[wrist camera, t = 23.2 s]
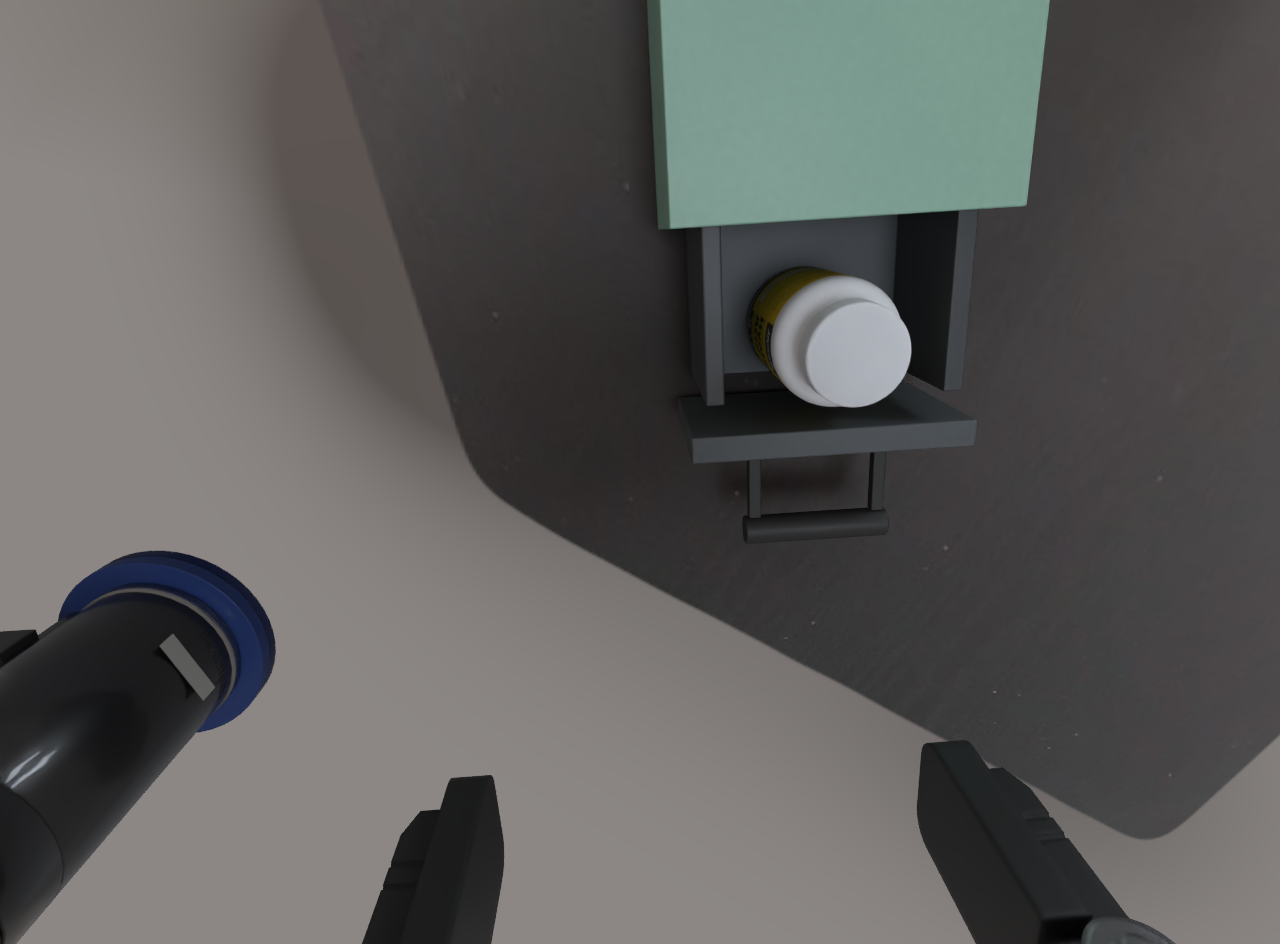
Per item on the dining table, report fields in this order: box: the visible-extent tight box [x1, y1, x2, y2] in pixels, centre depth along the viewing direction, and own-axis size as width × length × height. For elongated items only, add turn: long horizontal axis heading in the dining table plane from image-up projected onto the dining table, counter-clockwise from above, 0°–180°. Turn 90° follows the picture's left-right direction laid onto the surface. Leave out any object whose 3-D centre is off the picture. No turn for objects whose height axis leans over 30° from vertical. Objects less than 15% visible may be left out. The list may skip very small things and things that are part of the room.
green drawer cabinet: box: [647, 0, 1050, 229], centre depth 28 cm, size 16×14×10 cm
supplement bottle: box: [747, 267, 911, 407], centre depth 31 cm, size 5×5×10 cm
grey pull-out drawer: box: [679, 209, 979, 544], centre depth 33 cm, size 20×12×8 cm, turn 4°
